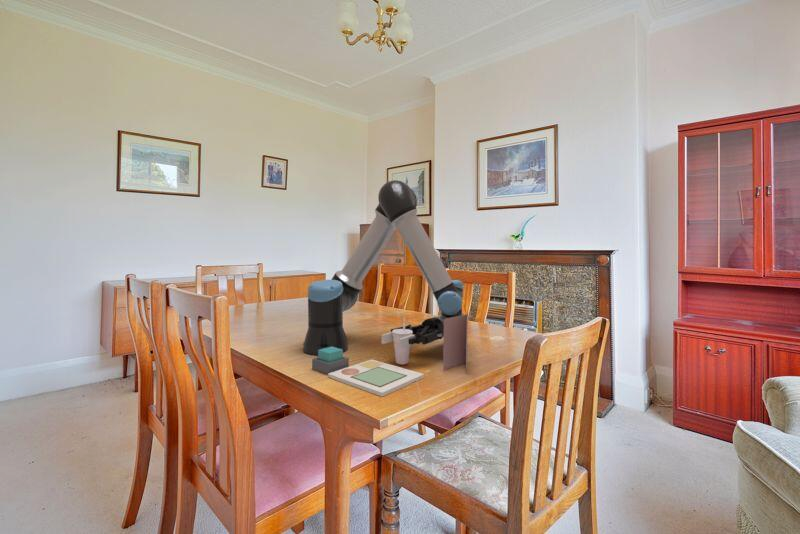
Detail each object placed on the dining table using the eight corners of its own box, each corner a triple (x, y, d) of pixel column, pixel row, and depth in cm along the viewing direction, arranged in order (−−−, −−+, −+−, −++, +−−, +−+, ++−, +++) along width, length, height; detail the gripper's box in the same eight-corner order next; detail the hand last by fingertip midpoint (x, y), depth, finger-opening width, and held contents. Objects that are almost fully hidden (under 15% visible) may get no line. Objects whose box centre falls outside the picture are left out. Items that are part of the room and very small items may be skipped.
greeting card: (464, 361, 117) (465, 313, 116) (484, 366, 112) (485, 317, 111) (440, 369, 109) (441, 318, 108) (461, 376, 104) (462, 322, 103)
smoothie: (410, 366, 110) (411, 319, 109) (389, 364, 111) (389, 318, 110) (414, 360, 116) (414, 315, 115) (393, 358, 117) (394, 314, 117)
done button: (318, 360, 109) (318, 350, 108) (331, 356, 112) (331, 346, 112) (329, 363, 105) (329, 353, 105) (342, 359, 109) (342, 349, 109)
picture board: (328, 377, 102) (328, 373, 102) (371, 362, 115) (371, 358, 115) (382, 396, 89) (382, 392, 89) (424, 377, 102) (424, 373, 102)
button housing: (312, 369, 109) (312, 358, 108) (332, 362, 114) (332, 353, 114) (328, 374, 104) (328, 364, 104) (348, 368, 109) (348, 358, 109)
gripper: (460, 344, 121) (417, 360, 103) (413, 334, 133) (367, 347, 116) (460, 321, 121) (417, 334, 103) (413, 313, 133) (367, 323, 115)
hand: (391, 341), depth 109 cm, fingers closed on smoothie, 6 cm apart
